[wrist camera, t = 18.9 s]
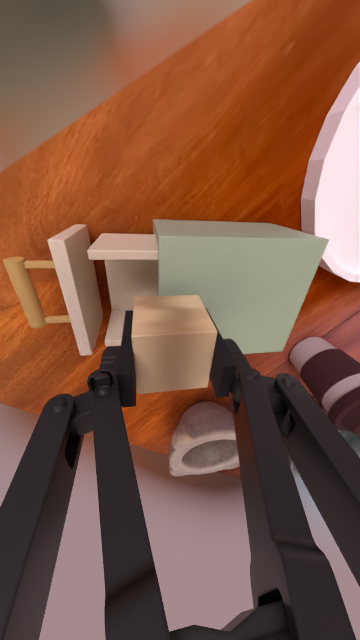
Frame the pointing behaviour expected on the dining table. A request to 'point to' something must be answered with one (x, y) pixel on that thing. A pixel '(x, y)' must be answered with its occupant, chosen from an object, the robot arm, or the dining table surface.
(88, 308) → the drawer
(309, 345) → the coffee cup
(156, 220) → the cabinet
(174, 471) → the mortar
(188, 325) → the block
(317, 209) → the plate
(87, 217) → the dining table surface
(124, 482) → the robot arm
